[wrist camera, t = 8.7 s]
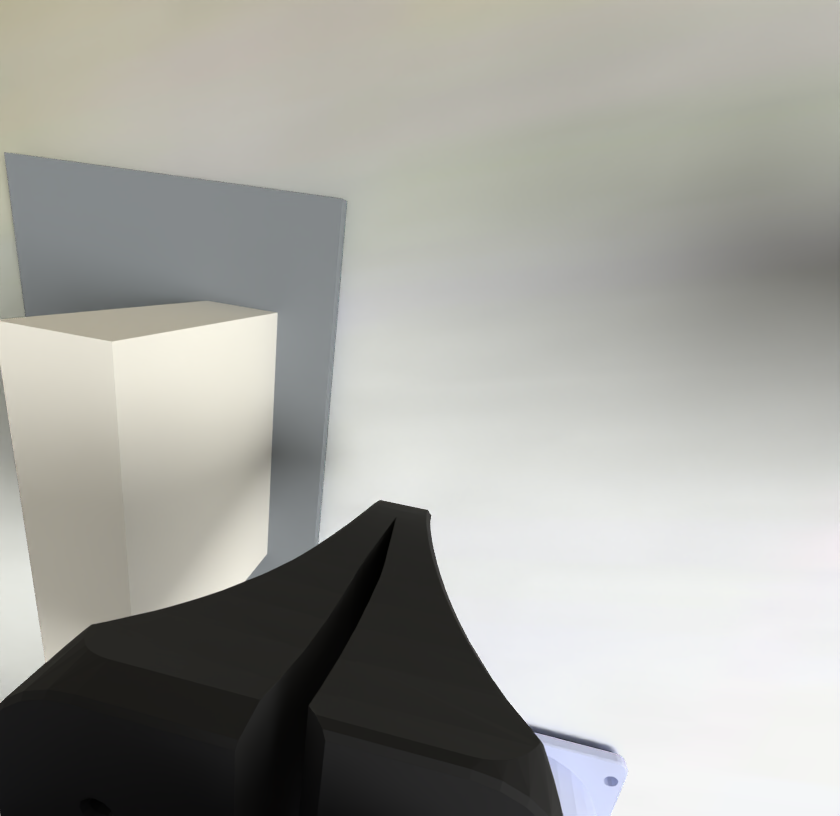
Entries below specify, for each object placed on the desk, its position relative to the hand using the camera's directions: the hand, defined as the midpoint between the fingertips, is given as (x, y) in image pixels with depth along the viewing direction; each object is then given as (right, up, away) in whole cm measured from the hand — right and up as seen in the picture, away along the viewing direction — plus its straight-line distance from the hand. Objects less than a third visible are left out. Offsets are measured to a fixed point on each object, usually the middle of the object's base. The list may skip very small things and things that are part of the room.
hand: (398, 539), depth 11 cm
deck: (-6, +2, +4) cm, 8 cm away
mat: (-8, +3, +5) cm, 10 cm away
